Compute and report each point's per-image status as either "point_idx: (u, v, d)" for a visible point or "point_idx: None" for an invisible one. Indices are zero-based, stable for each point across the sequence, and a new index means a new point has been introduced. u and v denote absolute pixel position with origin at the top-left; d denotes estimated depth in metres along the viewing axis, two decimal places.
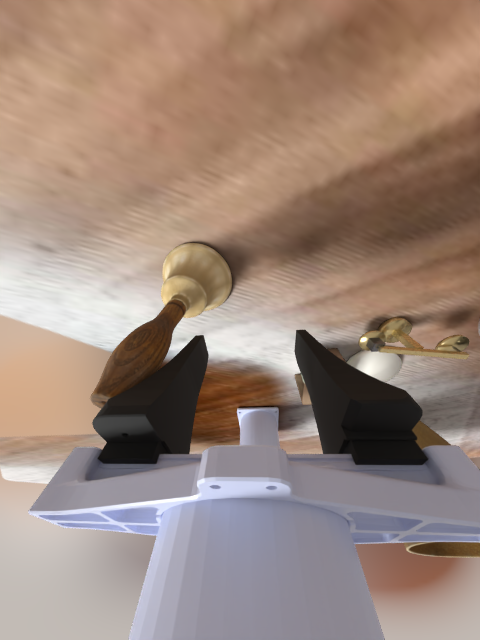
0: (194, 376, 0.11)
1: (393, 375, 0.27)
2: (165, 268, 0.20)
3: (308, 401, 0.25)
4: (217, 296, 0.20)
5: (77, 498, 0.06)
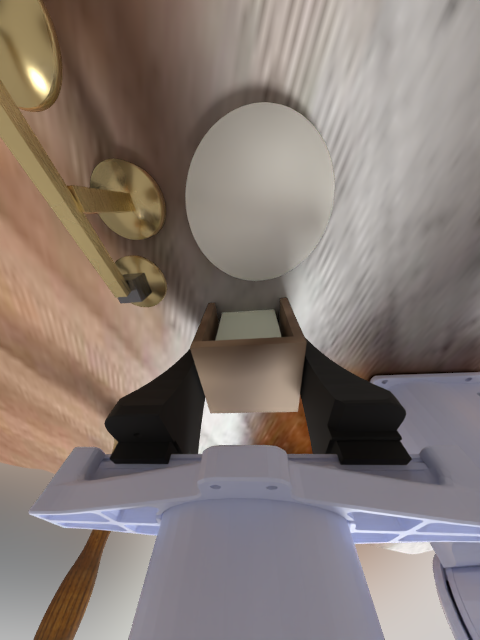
0: None
1: (284, 117, 0.07)
2: None
3: (288, 404, 0.11)
4: None
5: (77, 498, 0.06)
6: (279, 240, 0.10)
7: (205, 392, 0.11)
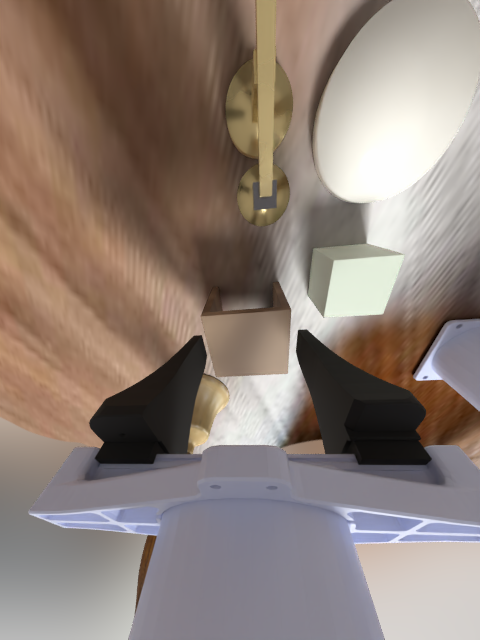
0: (192, 377, 0.11)
1: (449, 3, 0.08)
2: None
3: (279, 367, 0.14)
4: (202, 395, 0.21)
5: (77, 498, 0.06)
6: (404, 153, 0.10)
7: (212, 357, 0.13)
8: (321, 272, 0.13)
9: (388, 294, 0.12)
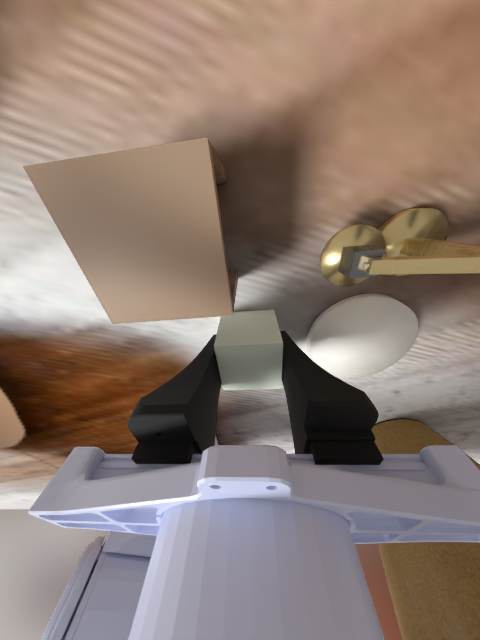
0: (216, 376, 0.11)
1: (400, 354, 0.14)
2: None
3: (121, 310, 0.08)
4: None
5: (77, 498, 0.06)
6: (337, 356, 0.14)
7: (91, 160, 0.05)
8: (260, 327, 0.12)
9: (244, 388, 0.12)
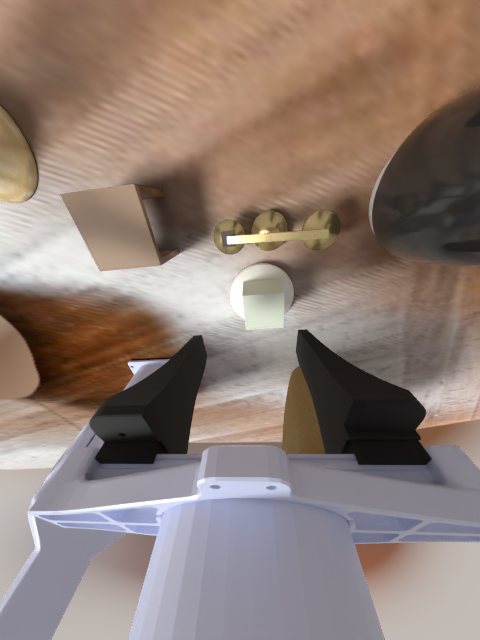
0: (192, 377, 0.11)
1: (288, 304, 0.22)
2: None
3: (104, 263, 0.16)
4: None
5: (77, 498, 0.06)
6: None
7: (88, 191, 0.13)
8: (269, 287, 0.18)
9: (259, 328, 0.19)
